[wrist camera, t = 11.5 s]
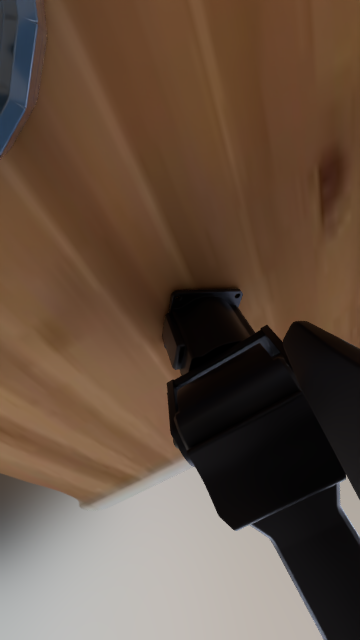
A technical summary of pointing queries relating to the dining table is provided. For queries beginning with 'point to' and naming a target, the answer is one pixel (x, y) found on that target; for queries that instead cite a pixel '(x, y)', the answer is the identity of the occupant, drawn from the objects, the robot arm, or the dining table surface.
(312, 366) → the robot arm
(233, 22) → the dining table surface
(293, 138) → the dining table surface
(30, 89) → the bowl
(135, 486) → the dining table surface
